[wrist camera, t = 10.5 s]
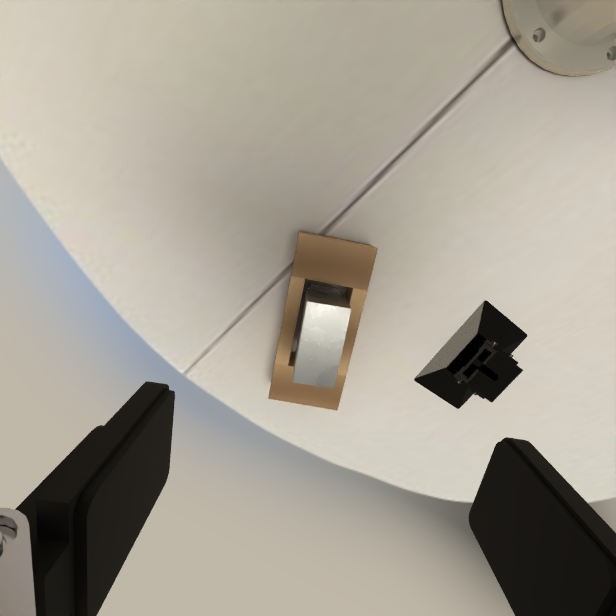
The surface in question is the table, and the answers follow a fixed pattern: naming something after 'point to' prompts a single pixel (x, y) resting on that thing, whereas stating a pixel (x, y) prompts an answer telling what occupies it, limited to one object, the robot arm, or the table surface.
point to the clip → (321, 337)
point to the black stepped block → (475, 359)
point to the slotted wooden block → (307, 265)
